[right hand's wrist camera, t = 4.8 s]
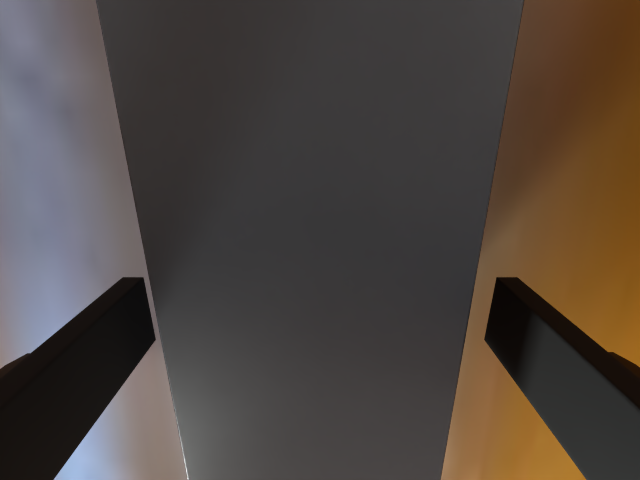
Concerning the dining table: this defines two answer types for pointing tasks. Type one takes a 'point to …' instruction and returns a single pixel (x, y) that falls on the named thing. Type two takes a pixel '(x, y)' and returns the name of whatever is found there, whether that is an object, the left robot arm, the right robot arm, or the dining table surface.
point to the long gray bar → (311, 219)
